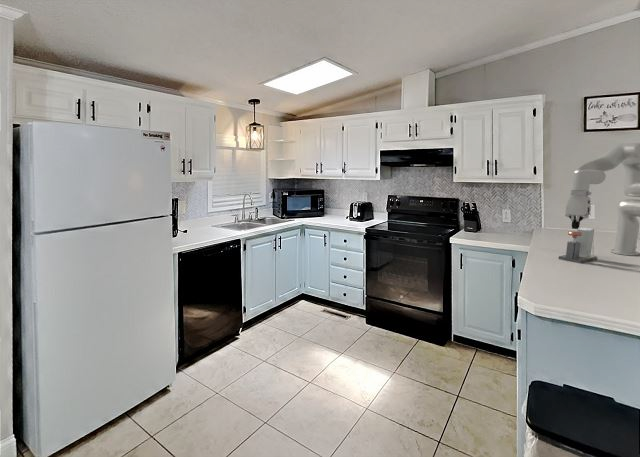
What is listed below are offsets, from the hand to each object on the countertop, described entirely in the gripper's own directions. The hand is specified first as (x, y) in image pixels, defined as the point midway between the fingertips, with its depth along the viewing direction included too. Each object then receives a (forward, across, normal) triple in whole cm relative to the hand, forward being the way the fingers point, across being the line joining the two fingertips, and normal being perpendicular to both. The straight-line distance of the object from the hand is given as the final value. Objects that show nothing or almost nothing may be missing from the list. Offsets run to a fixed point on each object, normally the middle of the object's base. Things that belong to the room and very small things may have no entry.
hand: (575, 228), depth 190 cm
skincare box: (+16, 0, -11) cm, 19 cm away
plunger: (+11, 0, -1) cm, 11 cm away
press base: (+17, 0, -7) cm, 19 cm away
